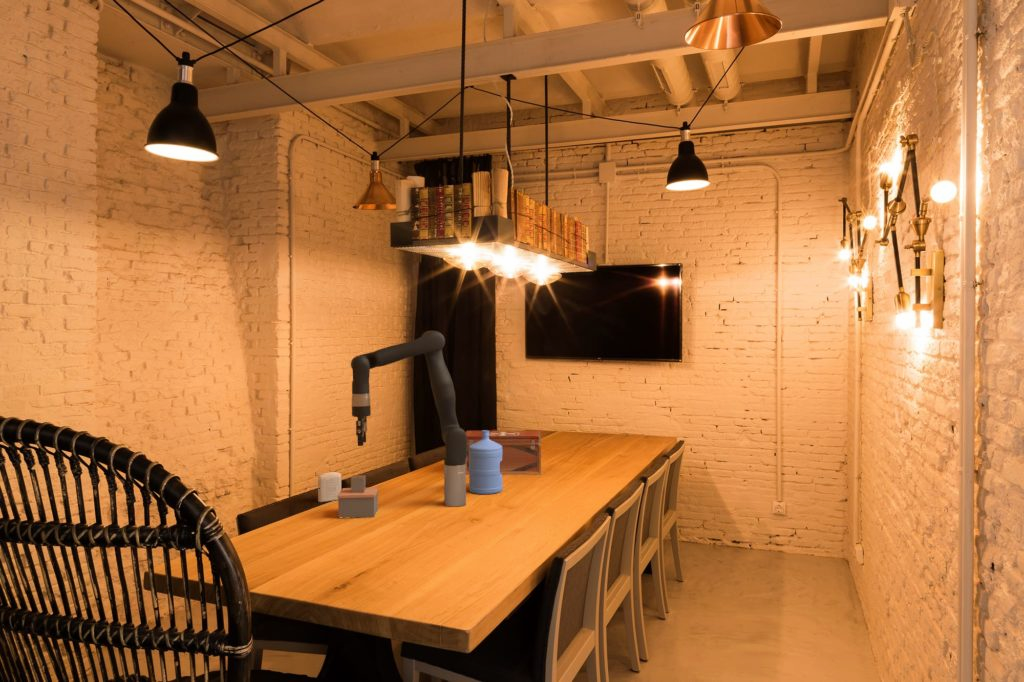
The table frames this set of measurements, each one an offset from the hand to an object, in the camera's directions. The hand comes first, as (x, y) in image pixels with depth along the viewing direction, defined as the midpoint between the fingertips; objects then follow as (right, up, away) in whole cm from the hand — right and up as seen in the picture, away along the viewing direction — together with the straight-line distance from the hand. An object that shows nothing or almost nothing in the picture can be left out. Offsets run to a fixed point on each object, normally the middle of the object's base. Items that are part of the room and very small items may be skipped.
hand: (362, 444), depth 279 cm
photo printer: (-19, -28, +21) cm, 40 cm away
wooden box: (+57, -27, +82) cm, 103 cm away
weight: (-1, -19, -2) cm, 19 cm away
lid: (-1, -20, -2) cm, 20 cm away
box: (-1, -28, -2) cm, 28 cm away
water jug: (+49, -28, +37) cm, 67 cm away
